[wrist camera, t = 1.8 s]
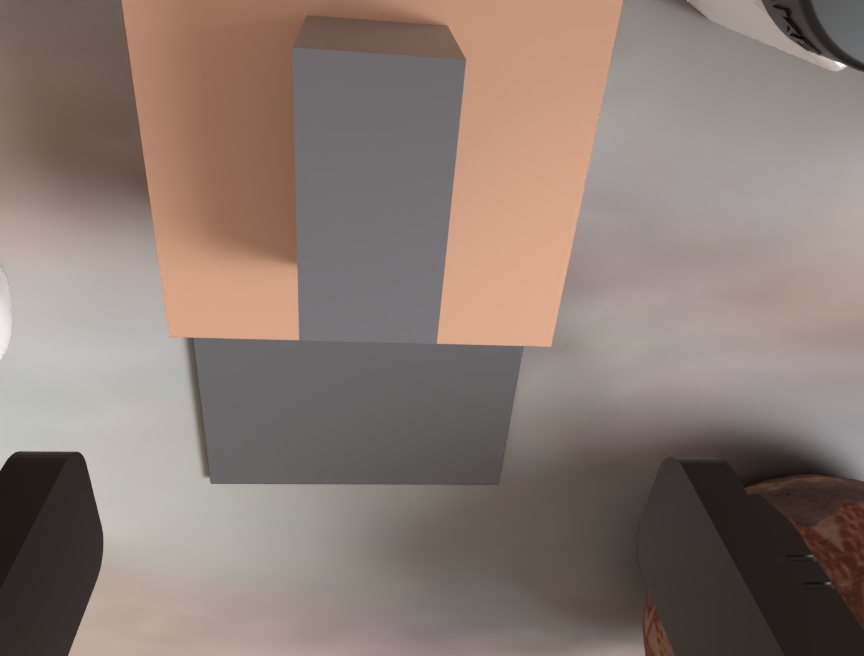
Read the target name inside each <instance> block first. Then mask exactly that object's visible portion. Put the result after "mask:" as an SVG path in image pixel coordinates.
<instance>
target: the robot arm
mask: <svg viewBox="0 0 864 656" xmlns="http://www.w3.org/2000/svg"><path fill="white" fill-rule="evenodd" d="M637 553H638V560H639V565H640V569H641V572H642V574H643V577H644V580H645V582H646V585H647V587H648V590H649V592H650V595H651V597H652V600H653V602H654V605H655V607H656V610H657V612H658V615H659V617H660V620H661V622H662V625H663V627H664V630H665V632H666V635H667V637H668V640H669V642H670V645H671V647H672V650H673V652H674V655H675V656H864V630H863V629H862V627H861V626H860V624H859V623H858V621H857V620H856V618H855V617H854V615H853V614H852V612H851V611H850V609H849V608H848V606H847V604H846V603H845V601H844V600H843V598H842V597H841V595H840V594H839V592H838V591H837V589H832V587H831V580H830V579H829V577H828V576H827V574H826V573H825V571H824V570H823V568H822V567H821V565H820V564H819V562H818V561H814V560H813V553H812V552H811V550H810V549H809V547H808V546H807V544H806V543H805V541H804V540H803V538H802V537H801V535H800V534H799V532H798V531H797V529H796V528H795V526H794V525H793V523H792V522H791V521H790V520H789V519H788V518H787V517H785V516H784V515H783V514H782V513H781V512H780V511H778V510H777V509H776V508H775V507H774V506H773V505H772V504H770V503H769V502H768V501H767V500H766V499H765V498H763V497H762V496H761V495H760V494H747V493H746V491H745V489H744V488H743V486H742V485H741V483H740V481H739V480H738V478H737V476H736V475H735V473H734V472H733V470H732V468H731V467H730V466H729V464H728V463H727V462H726V461H725V460H724V459H722V458H719V457H668V458H666V459H665V460H664V461H663V462H662V464H661V466H660V469H659V472H658V474H657V477H656V480H655V483H654V486H653V489H652V492H651V495H650V497H649V500H648V503H647V506H646V509H645V512H644V515H643V518H642V520H641V523H640V526H639V530H638V536H637ZM102 556H103V531H102V526H101V522H100V518H99V514H98V510H97V506H96V502H95V498H94V494H93V489H92V485H91V481H90V477H89V473H88V469H87V465H86V462H85V459H84V457H83V455H82V454H81V453H79V452H22V451H19V452H15V453H14V454H12V455H11V456H10V457H9V458H8V460H7V461H6V463H5V464H4V466H3V467H2V469H1V471H0V656H68V654H69V651H70V649H71V646H72V643H73V641H74V638H75V636H76V633H77V630H78V628H79V625H80V623H81V620H82V617H83V615H84V612H85V609H86V607H87V604H88V602H89V599H90V596H91V594H92V591H93V589H94V586H95V583H96V581H97V578H98V575H99V571H100V567H101V562H102Z"/></svg>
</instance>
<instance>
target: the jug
mask: <svg viewBox="0 0 864 656" xmlns="http://www.w3.org/2000/svg"><path fill="white" fill-rule="evenodd" d="M743 488H744V489H745V491H746V493H747V494H760V495H761V496H762V497H763V498H765V499H766V500H767V501H768V502H769V503H770V504H772V505H773V506H774V507H775V508H776V509H777V510H778V511H780V512H781V513H782V514H783V515H784V516H785V517H787V518H788V519H789V520H790V521H791V522H792V523H793V525H794V526H795V528H796V529H797V531H798V532H799V534H800V535H801V537H802V538H803V540H804V541H805V543H806V544H807V546H808V547H809V549H810V550H811V552H812V553H813V560H814V561H818V562H819V564H820V565H821V567H822V568H823V570H824V571H825V573H826V574H827V576H828V577H829V579H830V580H831V587H832V589H837V591H838V592H839V594H840V595H841V597H842V598H843V600H844V601H845V603H846V604H847V606H848V608H849V609H850V611H851V612H852V614H853V615H854V617H855V618H856V620H857V621H858V623H859V624H860V626H861V627H862V629H863V630H864V482H862V481H858V480H852V479H845V478H839V477H832V476H825V475H819V474H798V475H790V476H785V477H779V478H773V479H766V480H763V481H760V482H757V483H754V484H751V485H747V486H744V487H743ZM643 638H644V647H645V656H675V655H674V652H673V650H672V647H671V645H670V642H669V640H668V637H667V635H666V632H665V630H664V627H663V625H662V622H661V620H660V617H659V615H658V612H657V610H656V607H655V605H654V602H653V600H652V597H651V595H650V592H649V590H648V594H647V599H646V604H645V609H644V618H643Z"/></svg>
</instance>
